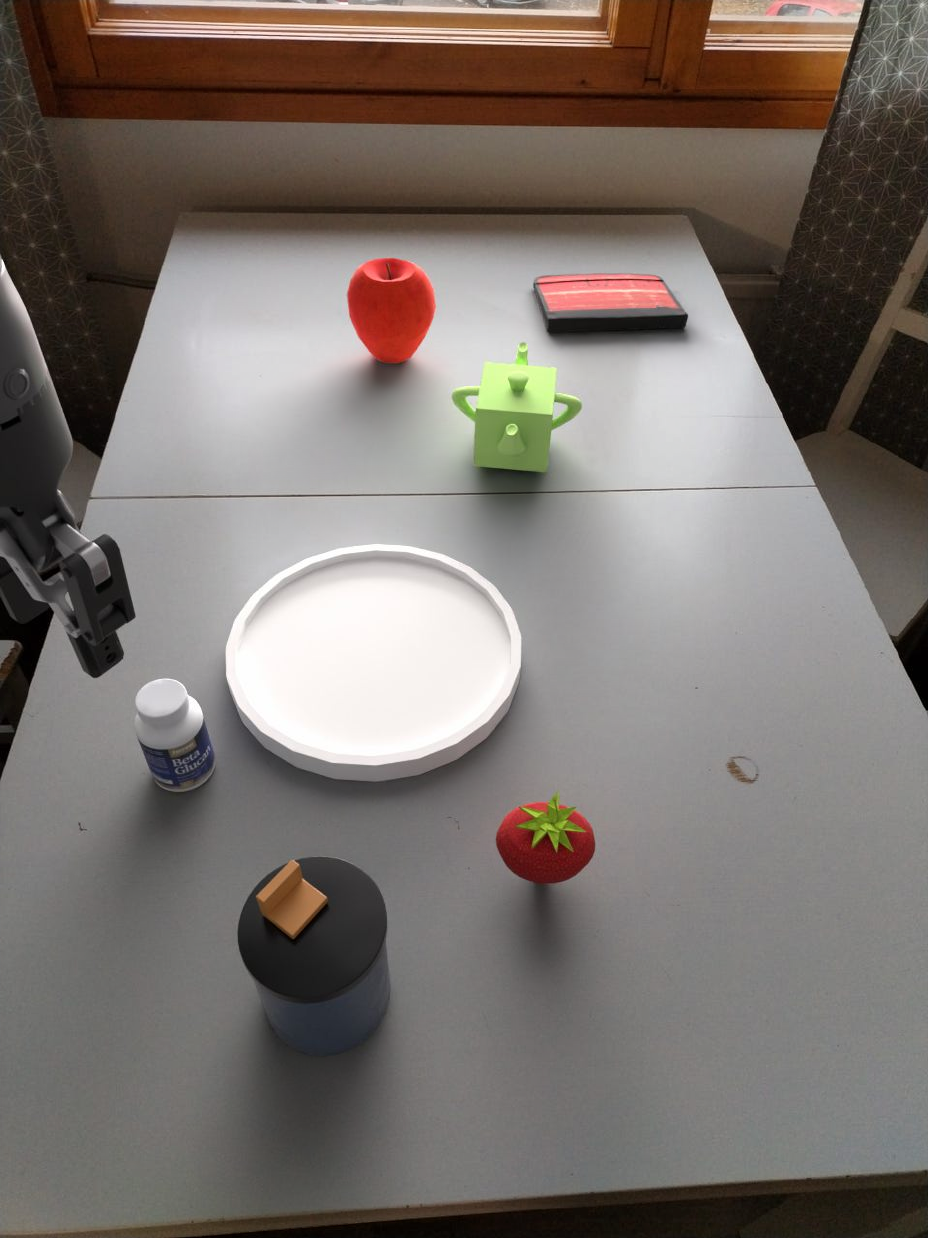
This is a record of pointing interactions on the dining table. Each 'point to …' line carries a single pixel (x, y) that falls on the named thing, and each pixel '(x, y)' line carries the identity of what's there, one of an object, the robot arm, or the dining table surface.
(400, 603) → the plate
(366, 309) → the apple
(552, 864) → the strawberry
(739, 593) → the dining table surface
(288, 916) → the orange l-shaped block
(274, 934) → the travel cup
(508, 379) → the teapot
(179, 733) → the pill bottle
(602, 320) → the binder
